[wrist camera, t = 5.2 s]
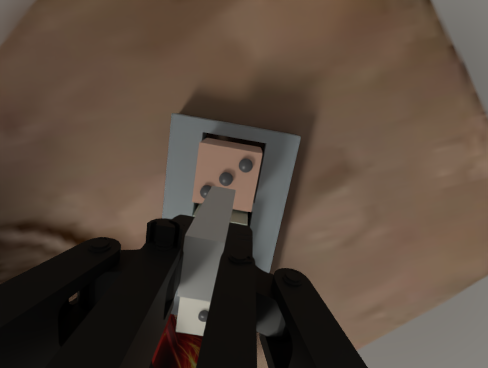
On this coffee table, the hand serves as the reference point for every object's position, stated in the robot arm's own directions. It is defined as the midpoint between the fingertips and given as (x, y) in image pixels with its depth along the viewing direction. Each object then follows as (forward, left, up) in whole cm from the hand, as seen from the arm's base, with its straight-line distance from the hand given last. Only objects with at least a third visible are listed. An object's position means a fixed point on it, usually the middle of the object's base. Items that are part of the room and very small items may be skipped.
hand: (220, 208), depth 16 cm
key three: (0, 0, -11) cm, 11 cm away
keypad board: (0, -7, -13) cm, 15 cm away
